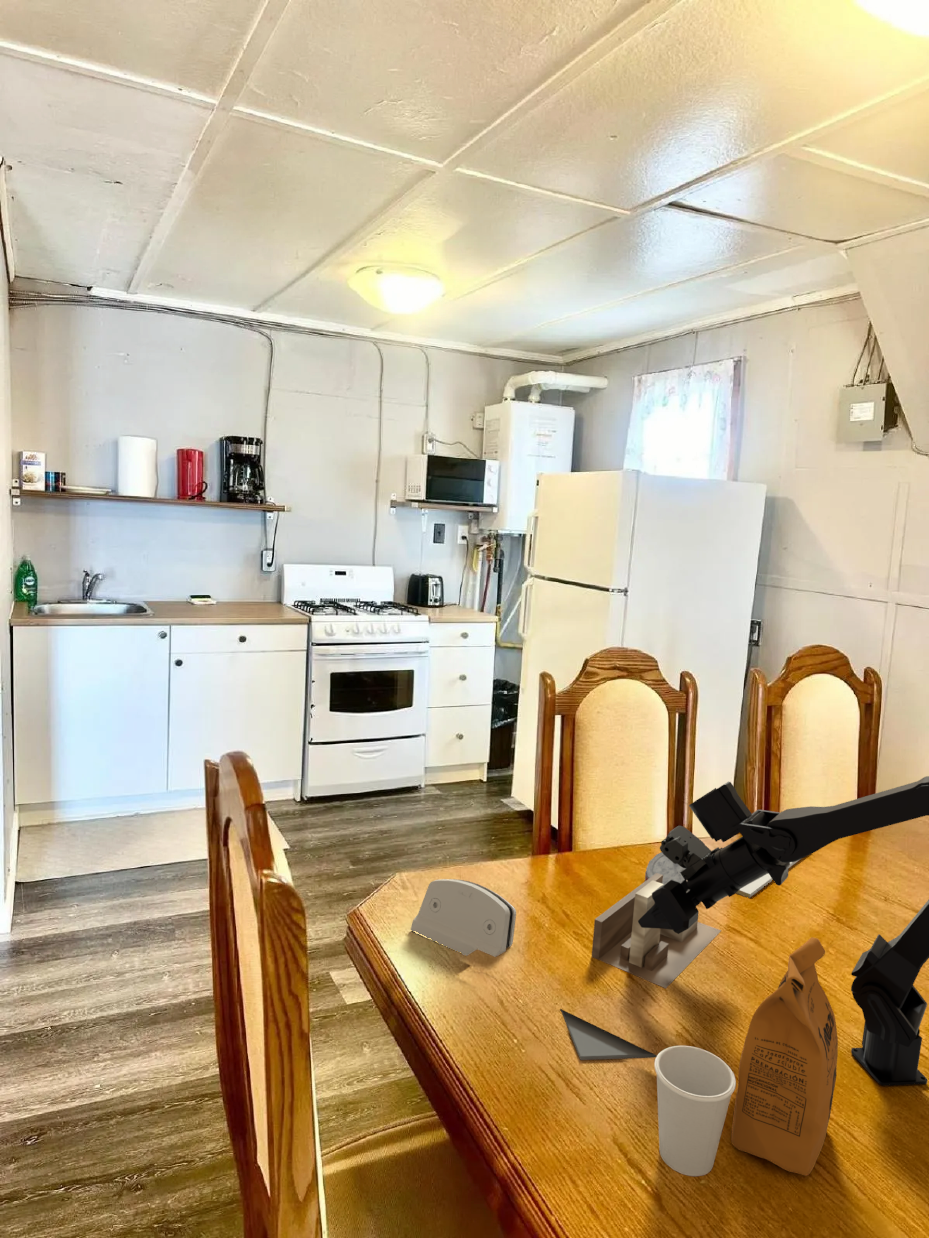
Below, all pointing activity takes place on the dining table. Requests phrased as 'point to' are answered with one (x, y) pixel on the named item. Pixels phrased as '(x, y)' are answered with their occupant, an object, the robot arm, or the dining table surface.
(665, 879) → the canned food
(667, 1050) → the dixie cup
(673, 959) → the grey desk organizer
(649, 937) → the birch board
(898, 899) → the dining table surface
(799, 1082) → the coffee package
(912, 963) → the robot arm
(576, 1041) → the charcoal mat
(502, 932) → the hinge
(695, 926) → the offcut stack
